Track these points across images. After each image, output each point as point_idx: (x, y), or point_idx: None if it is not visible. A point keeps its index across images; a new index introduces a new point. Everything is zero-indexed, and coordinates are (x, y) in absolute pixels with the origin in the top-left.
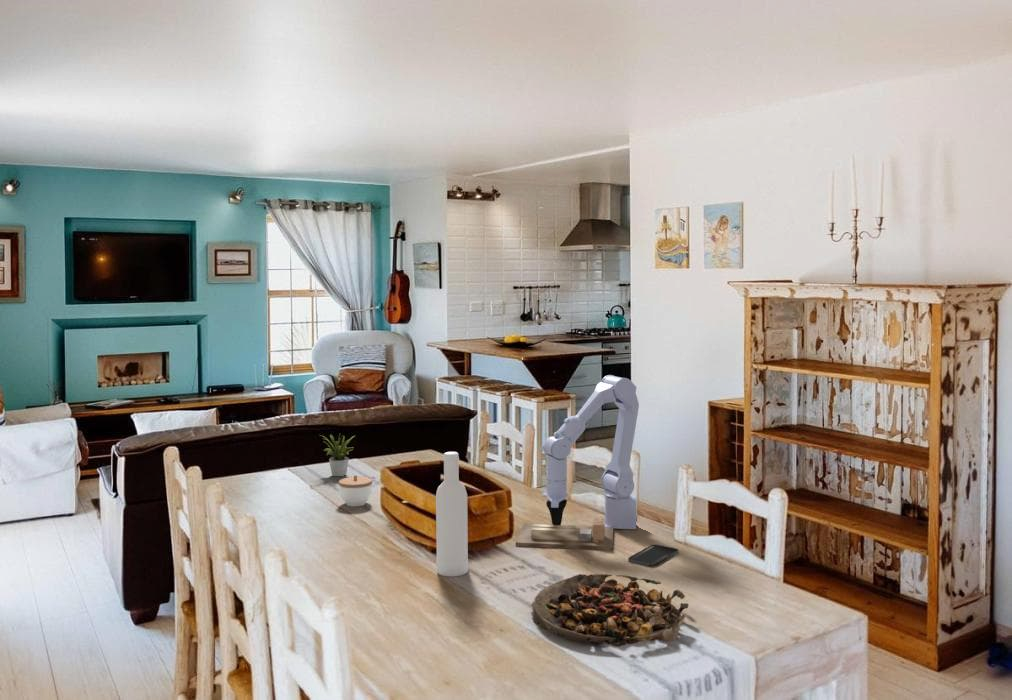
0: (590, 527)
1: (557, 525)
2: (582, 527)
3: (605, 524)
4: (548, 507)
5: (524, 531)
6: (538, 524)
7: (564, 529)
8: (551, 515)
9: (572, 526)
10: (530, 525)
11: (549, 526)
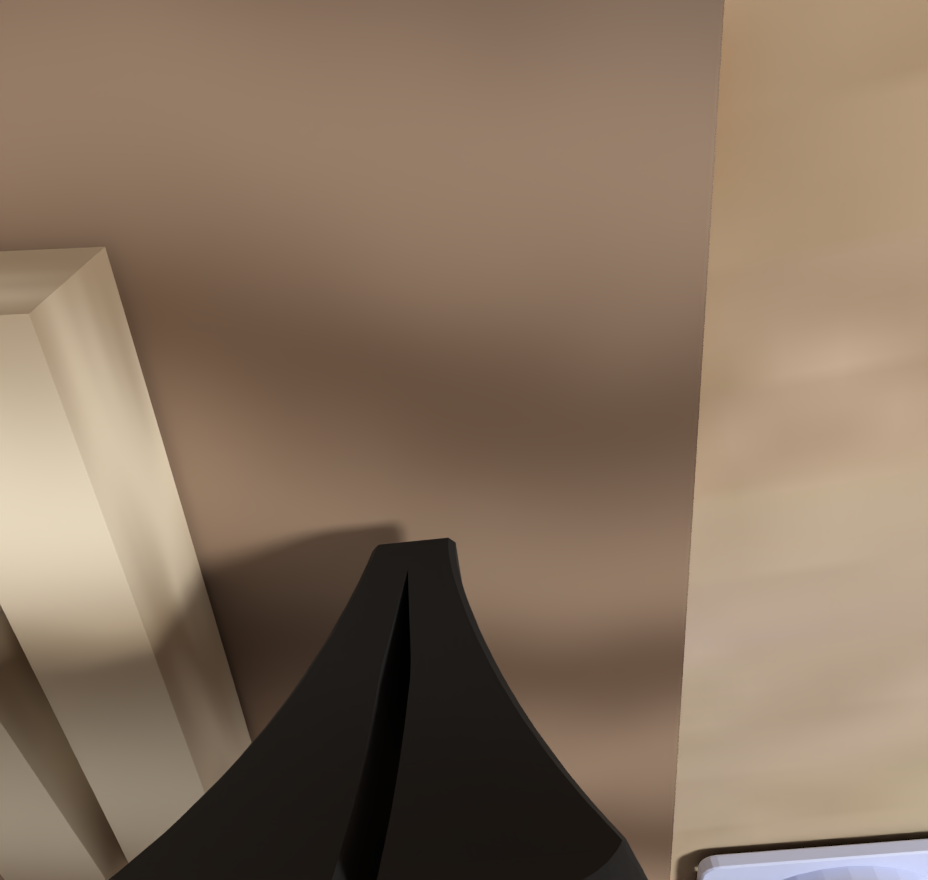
0: (614, 817)
1: (155, 697)
2: (599, 763)
3: (789, 874)
4: (132, 870)
5: (110, 17)
6: (44, 415)
7: (6, 795)
8: (296, 695)
9: None
10: (583, 48)
11: (30, 610)
